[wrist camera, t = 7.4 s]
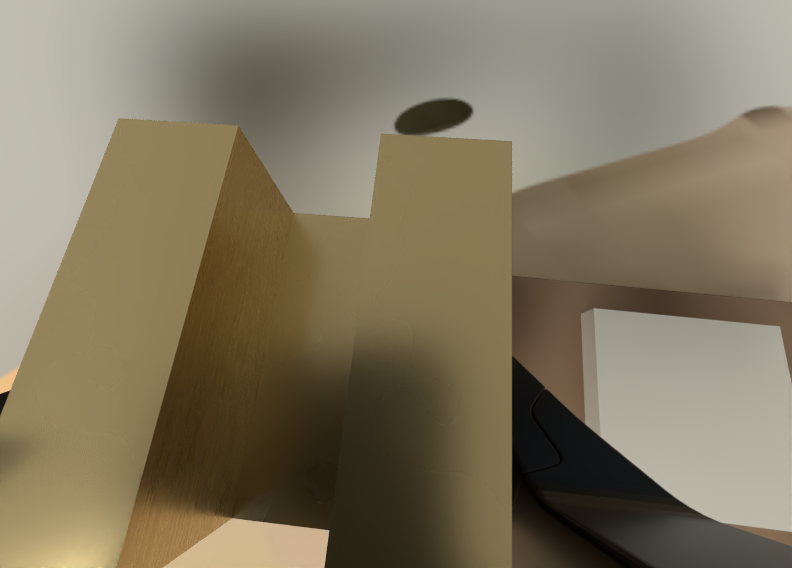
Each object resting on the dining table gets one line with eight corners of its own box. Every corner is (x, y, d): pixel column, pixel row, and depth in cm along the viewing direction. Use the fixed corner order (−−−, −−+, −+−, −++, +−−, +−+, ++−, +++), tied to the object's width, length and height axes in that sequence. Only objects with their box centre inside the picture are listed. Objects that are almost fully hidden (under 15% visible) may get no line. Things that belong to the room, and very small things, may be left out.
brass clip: (427, 445, 13) (511, 665, 2) (309, 432, 13) (-65, 583, 3) (434, 327, 14) (511, 141, 4) (327, 317, 15) (119, 118, 4)
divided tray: (229, 476, 14) (184, 497, 11) (275, 267, 17) (248, 242, 14) (805, 553, 13) (918, 599, 10) (760, 315, 16) (840, 297, 13)
